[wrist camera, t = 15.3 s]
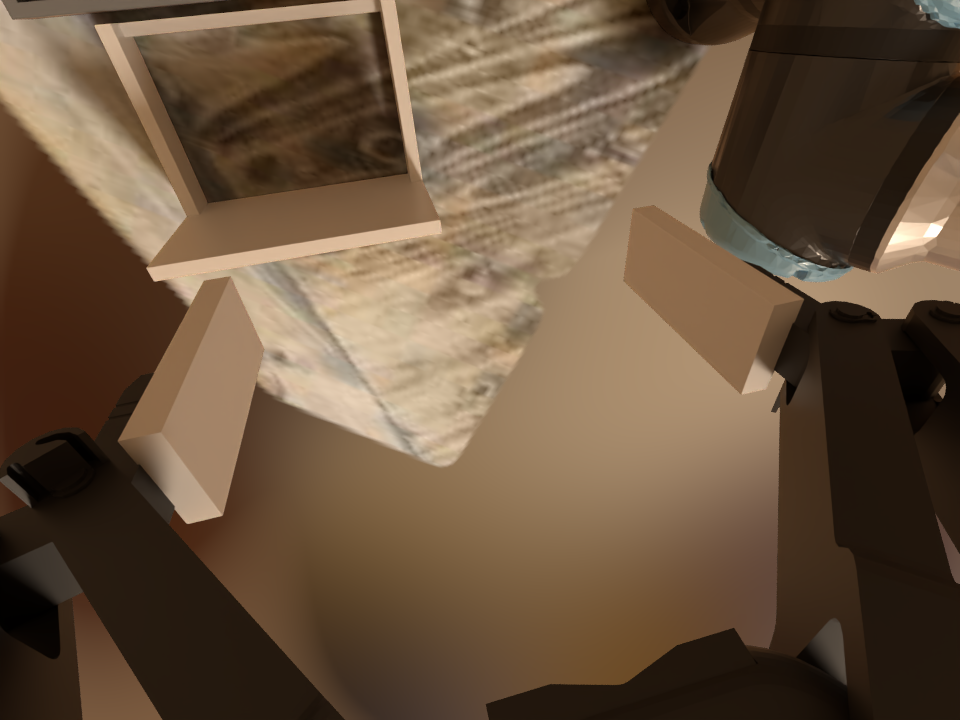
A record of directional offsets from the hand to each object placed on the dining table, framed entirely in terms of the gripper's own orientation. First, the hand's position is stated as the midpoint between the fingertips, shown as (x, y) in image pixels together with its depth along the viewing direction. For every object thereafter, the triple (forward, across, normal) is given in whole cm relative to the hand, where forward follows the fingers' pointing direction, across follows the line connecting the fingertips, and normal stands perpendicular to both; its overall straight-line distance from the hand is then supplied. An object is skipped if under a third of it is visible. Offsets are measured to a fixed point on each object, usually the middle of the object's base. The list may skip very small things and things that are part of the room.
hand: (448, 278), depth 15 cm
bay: (+32, +8, -1) cm, 33 cm away
